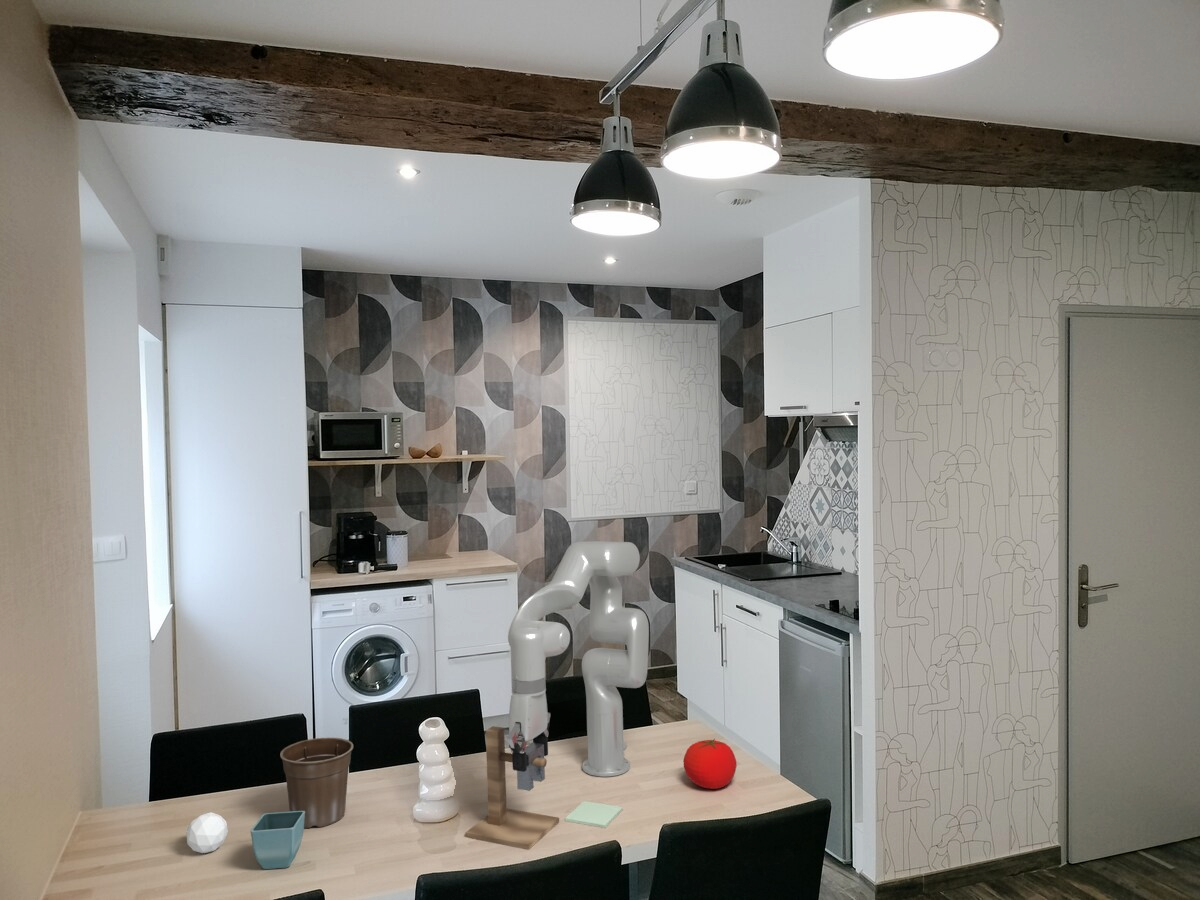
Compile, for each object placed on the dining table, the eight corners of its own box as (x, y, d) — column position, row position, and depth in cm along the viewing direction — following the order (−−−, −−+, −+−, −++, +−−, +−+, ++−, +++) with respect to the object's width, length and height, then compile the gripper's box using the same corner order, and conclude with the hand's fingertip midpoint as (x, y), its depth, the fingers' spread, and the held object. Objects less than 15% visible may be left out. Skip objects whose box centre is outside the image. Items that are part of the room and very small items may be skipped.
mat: (584, 803, 199) (584, 800, 199) (622, 809, 195) (622, 807, 195) (565, 820, 190) (565, 818, 190) (605, 828, 186) (605, 825, 186)
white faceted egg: (192, 849, 173) (162, 842, 180) (224, 859, 178) (194, 852, 185) (210, 810, 177) (181, 804, 184) (241, 821, 183) (211, 815, 189)
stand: (498, 811, 196) (496, 717, 196) (561, 822, 189) (558, 725, 189) (465, 837, 183) (462, 737, 183) (531, 850, 176) (528, 746, 176)
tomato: (746, 786, 206) (745, 741, 206) (706, 799, 199) (705, 753, 199) (714, 771, 216) (713, 729, 216) (675, 784, 209) (674, 740, 209)
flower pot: (264, 854, 178) (263, 812, 178) (306, 851, 178) (305, 809, 178) (250, 875, 169) (249, 831, 169) (295, 872, 170) (294, 828, 170)
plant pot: (369, 809, 199) (367, 741, 199) (320, 838, 184) (318, 765, 184) (317, 798, 206) (315, 733, 206) (266, 826, 191) (264, 756, 191)
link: (533, 777, 188) (532, 742, 188) (544, 778, 187) (543, 744, 187) (517, 788, 182) (516, 753, 182) (529, 790, 180) (528, 754, 180)
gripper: (532, 673, 194) (534, 747, 194) (493, 694, 178) (495, 774, 178) (561, 676, 190) (563, 751, 190) (524, 697, 175) (526, 779, 175)
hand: (530, 762), depth 184 cm, fingers open, 9 cm apart
